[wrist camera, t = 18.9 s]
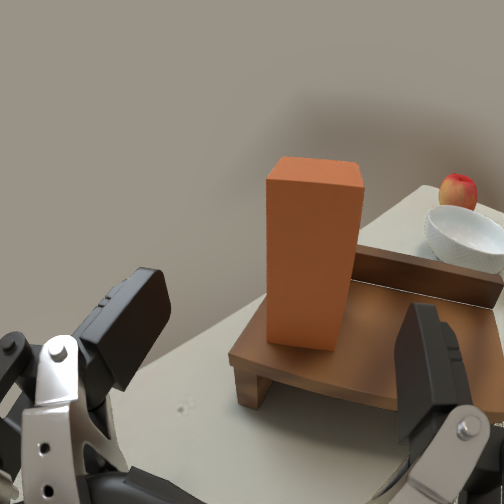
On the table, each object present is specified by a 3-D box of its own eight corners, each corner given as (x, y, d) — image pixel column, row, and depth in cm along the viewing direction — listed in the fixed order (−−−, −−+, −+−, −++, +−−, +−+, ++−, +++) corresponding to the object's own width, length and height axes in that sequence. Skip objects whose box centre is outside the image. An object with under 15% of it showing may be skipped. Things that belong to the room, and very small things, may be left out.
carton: (266, 342, 21) (265, 178, 15) (279, 299, 25) (281, 156, 19) (334, 351, 20) (365, 187, 14) (337, 306, 24) (357, 162, 18)
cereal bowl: (414, 275, 40) (426, 233, 37) (420, 230, 52) (427, 197, 49) (507, 303, 33) (525, 264, 29) (493, 252, 45) (504, 220, 41)
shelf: (235, 407, 25) (223, 323, 19) (286, 315, 35) (291, 231, 29) (461, 457, 17) (534, 388, 11) (461, 353, 27) (501, 275, 21)
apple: (435, 205, 64) (442, 166, 59) (469, 215, 59) (478, 177, 54) (434, 219, 57) (442, 175, 52) (471, 230, 52) (482, 188, 47)
